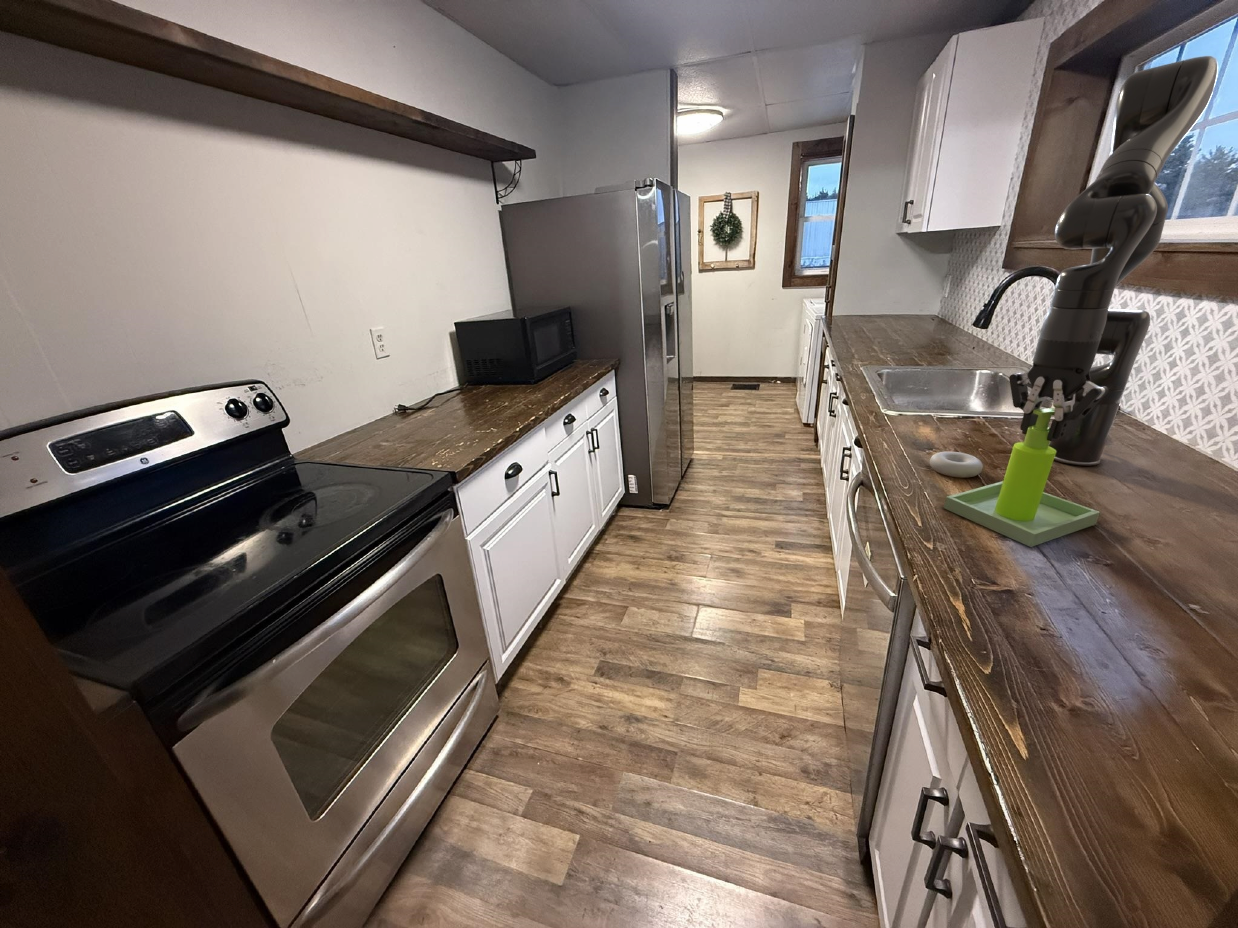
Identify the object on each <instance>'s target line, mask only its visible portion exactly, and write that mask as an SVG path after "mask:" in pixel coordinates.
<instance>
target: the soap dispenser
mask: <svg viewBox="0 0 1238 928" xmlns="http://www.w3.org/2000/svg"><path fill="white" fill-rule="evenodd" d="M1033 413H1034V414H1037V415H1038V418H1037V421H1036V425H1033V426H1030V427H1028V430H1027V433H1026V435H1025V437H1024V439H1023V440H1024V441H1019V442H1015V443H1014V444H1013V446H1012V449H1011V453H1010V455H1009V460H1008V463H1007V467H1006V470H1005V475H1004V478H1003V480H1002V481H1003V484H1002V487H1001V491H1000V494H999V498H998V501H997V504H996V508H995V511H996V512H997V513H998V514H1000V515H1001V516H1003V517H1006V518H1009V519H1012V520H1017V521H1031V520H1033V519H1034V518H1035V515H1036V512H1037V509H1038V506H1039V503H1040V500H1041V497H1042V494H1043V492H1045V488H1046V485H1047V482H1048V479H1049V475H1050V472H1051V469H1052V467H1053V463H1054V461H1055V460H1054V458H1055V454H1056V450H1055V449H1054V448H1052V447H1049V444H1050V441H1048V440H1047V437H1048V433H1049V430H1050V427H1049V425H1050V421H1051V418H1052V416H1054V415H1055V407H1048V408H1047V407H1046V408H1040V409H1036V410H1034V411H1033Z"/></svg>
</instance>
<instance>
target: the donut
mask: <svg viewBox="0 0 1238 928" xmlns="http://www.w3.org/2000/svg"><path fill="white" fill-rule="evenodd" d="M929 465H930V468H931V469H932V470H933V471H935V472H937V473H939V474H940V475H944V476H947V477H953V478H960V479H961V478H962V479H963V478H964V479H965V478H972V477H976V476H978V475H980V474H981V473H982V472H983V469H984V468H983V467H984V464H983V462H982V461H981V460H980V459H979V458H977V457H975V456H974V455H972V454H970V453H969V454H968V453H965V452H960V451H951V450H950V451H940V452H939V451H938V452H937V453H935V454H933V455H932V456H931V457H930V459H929Z"/></svg>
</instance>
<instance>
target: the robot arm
mask: <svg viewBox="0 0 1238 928" xmlns="http://www.w3.org/2000/svg"><path fill="white" fill-rule="evenodd" d="M1218 73H1219V63H1218V60H1217V58H1216V57H1214V56H1211V55H1204V56H1197V57H1192V58H1188V59H1184V60H1179V61H1175V62H1170V63H1167V64H1162V65H1158V66H1153V67H1149V68H1146V69H1143V70H1139V71H1136V72H1132V73H1131V74H1130V75H1129V76H1128V77H1126V79H1125V80H1124V82H1123V83H1122V85H1121V87H1120V89H1119V91H1118V95H1117V98H1116V102H1115V106H1114V112H1113V113H1114V114H1113V121H1112V127H1111V128H1112V129H1111V137H1110V146H1109V155H1108V158H1107V159H1106V160H1105V161H1104V163H1103V165H1102V166H1101V168H1100V170H1099V172H1098V174H1097V176H1096V177H1095V180H1094V181H1093V182H1092V183H1091V184H1090V185H1089V186H1088V187H1086V188H1085V189H1084V190H1083V191H1081V193H1079V194H1078V195H1077V196H1076V197H1075V198H1073V200H1071V202H1070V203H1069V204H1068V205H1067V206H1066V207H1065V208H1064V210H1063V212H1062V213H1061V215H1060V216H1059V218H1058V219H1057V222H1056V225H1055V228H1054V229H1055V230H1054V239H1055V242H1056V243H1057V244H1058V245H1059V246H1060V247H1061V248H1063V249H1065V250H1091V257H1090V263H1088V264H1082V265H1075V266H1071V267H1068V268H1065V269H1063V270H1062V271H1060V273H1059V274H1058V277H1057V278H1056V282H1055V286H1054V290H1053V293H1052V297H1051V300H1050V304H1049V307H1048V310H1047V312H1046V314H1045V317H1044V319H1043V322H1042V326H1041V328H1040V331H1039V337H1038V341H1037V343H1036V347H1035V351H1034V355H1033V358H1032V366H1031V367H1030V368H1029V369H1028V371H1027V372H1017V373H1013V374H1010V375H1009V376H1008V380H1009V386H1010V392H1011V399H1012V406H1013V407H1014V408H1016V409H1017V408H1018V409H1020V410H1022V413H1023V416H1022V419H1021V423H1020V427H1019V428H1020V431H1021V434H1022V435H1025V436H1026V433H1027V430H1028V427H1030V426H1033V425H1036V421H1037V418H1038V415H1037V414H1034V413H1033V411H1034V410H1036V409H1042V406H1043V404H1044V402H1045V401H1046V400H1047V399H1048V398H1050V399H1052V400H1053V401H1052V406H1053V408H1055V415H1053V416H1054V419H1052V420H1051V423H1050V427H1049V428H1050V430H1049V433H1048V437H1047V440H1048V441H1050V442H1049V447H1052V448H1054V449H1055V450H1056V454H1055V458H1054V461H1056V462H1059V463H1064V464H1067V465H1073V466H1081V467H1082V466H1083V467H1091V466H1097V465H1099V464H1100V463H1101V458H1102V455H1103V452H1104V449H1105V446H1106V443H1107V441H1108V438H1109V435H1110V432H1111V429H1112V427H1113V424H1114V421H1115V419H1116V416H1117V413H1118V411H1119V410H1121V401H1122V398H1123V395H1124V392H1125V390H1126V388H1127V387H1126V386H1127V384H1128V381H1129V378H1130V376H1131V373H1132V371H1133V368H1134V365H1135V362H1136V359H1137V357H1138V355H1139V353H1140V350H1141V348H1142V345H1143V343H1144V341H1145V339H1146V336H1147V334H1148V332H1149V328H1150V325H1151V314H1150V313H1149V312H1148V311H1147V310H1143V309H1142V310H1140V309H1121V308H1120V309H1117V308H1109V307H1110V305H1111V301H1112V299H1113V295H1114V291H1115V289H1116V287H1117V286H1118V285H1119V284H1120V283H1121V282H1123V280H1124V279H1125V278H1126V277H1127V276H1129V274H1131V273H1132V272H1133V271H1134V270H1135V269H1136V268H1138V267H1139V266H1140V265H1141V264H1142V263H1143V262H1144V261H1146V259H1148V258H1149V257H1150V256H1151V255H1152V253H1153V252H1154V251H1155V250H1156V249H1157V247H1158V246H1159V244H1160V241H1161V239H1162V235H1163V231H1164V227H1165V224H1166V223H1165V222H1166V219H1167V218H1166V217H1167V215H1168V211H1169V206H1168V201H1167V198H1166V197H1165V195H1164V193H1163V192H1162V189H1161V188H1160V187H1159V185H1158V184H1157V183H1156V182H1157V180H1158V178H1159V176H1160V174H1161V172H1162V170H1163V168H1164V165H1165V163H1166V162H1167V160H1168V159H1169V157H1170V156H1171V155H1172V153H1173V152H1174V151H1175V149H1176V148H1177V147H1178V145H1180V144H1181V142H1182V141H1183V139H1184V138H1185V137H1186V136H1187V135H1188V133H1189V132H1190V131H1191V129H1192V128H1193V127H1194V125H1195V124H1196V123H1197V122H1198V120H1199V119H1200V118H1201V117H1202V115H1203V113H1204V112H1205V111H1206V108H1207V107H1208V105H1209V103H1210V101H1211V98H1212V95H1213V94H1214V90H1215V86H1216V83H1217V78H1218ZM1096 355H1107V356H1113V358H1112V360H1110V361H1109V362H1107V363H1104V364H1101V365H1098V366H1093V364H1094V362H1095V358H1096ZM1029 383H1030V385H1031V387H1032V388H1031V391H1030V392H1029V388H1028V384H1029ZM1119 404H1120V406H1119Z"/></svg>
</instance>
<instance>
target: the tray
mask: <svg viewBox="0 0 1238 928" xmlns="http://www.w3.org/2000/svg"><path fill="white" fill-rule="evenodd" d="M1002 484H1003V480H1002V481H999V482H998V481H997V482H995V483H991V484H988V485H984V486H980V487H977V488H973V489H970V490H966V491H961V492H959V493H955V494H951V495H948V496H946V497H945V501H944V505H943V509H945V510H946V511H949V512H951V513H953V514H956V515H958V516H960V517H962V518H965V519H966V520H969V521H972V522H974V523H975V524H978V525H981V526H982V527H985V528H987V529H989V530H992V531H993V532H996V533H998V534H1000V535H1003V536H1005V537H1007V538H1009V539H1012V540H1014V541H1016V542H1018V543H1021V544H1023V545H1025V546H1027V547H1030V548H1033V547H1035V546H1038V545H1042V544H1044V543H1046V542H1049V541H1052V540H1055V539H1058V538H1061V537H1064V536H1067V535H1069V534H1072V533H1075V532H1078V531H1081V530H1084V529H1086V528H1089V527H1092V526H1095V525H1097V522H1098V520H1099V517H1100V514H1101V511H1098V510H1096V509H1093V508H1091V507H1088V506H1084V505H1081V504H1079V503H1076V502H1073V501H1071V500H1068V499H1065V498H1063V497H1059V496H1056V495H1054V494H1050V493H1047V492H1045V491H1043V494H1042V497H1041V500H1040V503H1039V506H1038V509H1037V512H1036V515H1035V518H1034V519H1033V520H1031V521H1017V520H1012V519H1009V518H1006V517H1003V516H1001V515H1000V514H998V513H997V512H996V511H995V508H996V504H997V501H998V498H999V494H1000V491H1001V487H1002Z"/></svg>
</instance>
